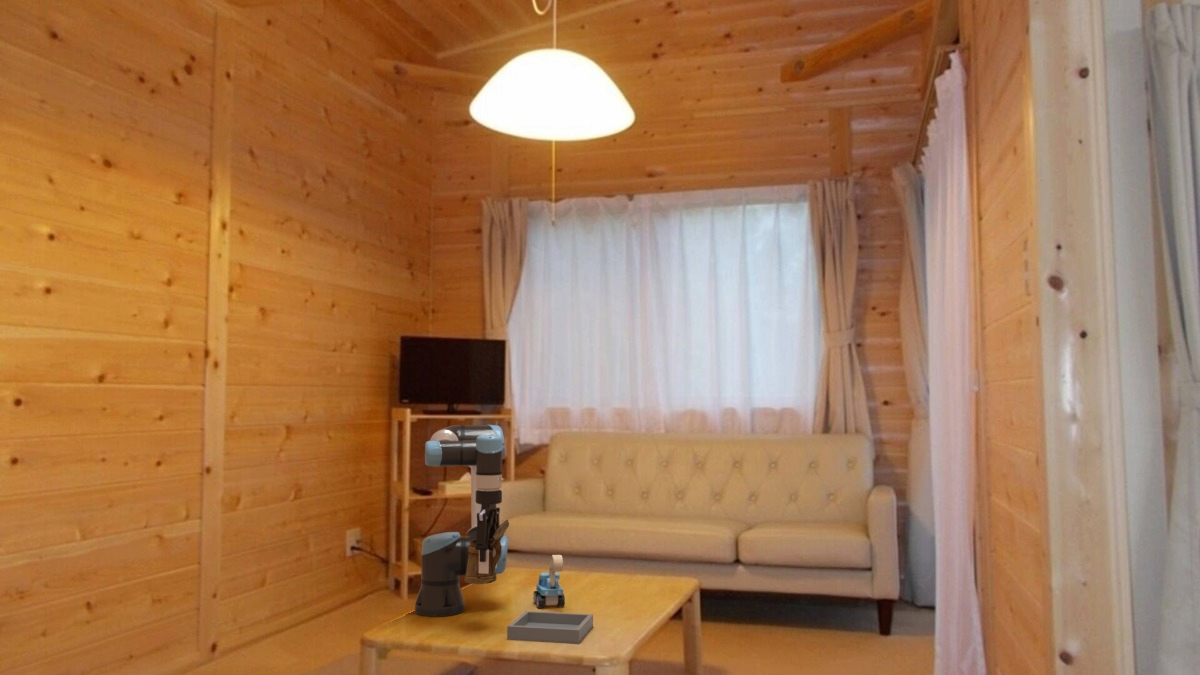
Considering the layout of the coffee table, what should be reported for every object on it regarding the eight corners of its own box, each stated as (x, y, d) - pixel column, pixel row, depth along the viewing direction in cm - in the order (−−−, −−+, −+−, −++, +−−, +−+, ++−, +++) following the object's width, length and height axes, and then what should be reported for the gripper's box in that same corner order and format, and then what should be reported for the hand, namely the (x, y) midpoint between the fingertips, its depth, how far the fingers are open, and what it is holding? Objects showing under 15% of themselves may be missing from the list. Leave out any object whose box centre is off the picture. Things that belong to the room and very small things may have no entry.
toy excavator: (542, 614, 270) (543, 557, 271) (532, 602, 286) (532, 548, 287) (570, 612, 272) (570, 555, 274) (558, 600, 288) (558, 547, 290)
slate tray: (507, 639, 242) (507, 626, 242) (525, 623, 259) (525, 610, 259) (579, 643, 238) (579, 630, 238) (593, 626, 255) (593, 614, 255)
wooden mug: (499, 587, 247) (500, 522, 248) (458, 582, 253) (458, 518, 253) (515, 580, 255) (515, 517, 256) (475, 575, 261) (475, 513, 262)
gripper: (490, 493, 246) (489, 578, 244) (511, 486, 265) (510, 564, 264) (464, 492, 247) (463, 577, 246) (487, 485, 266) (486, 563, 265)
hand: (487, 570), depth 255 cm, fingers closed on wooden mug, 7 cm apart
